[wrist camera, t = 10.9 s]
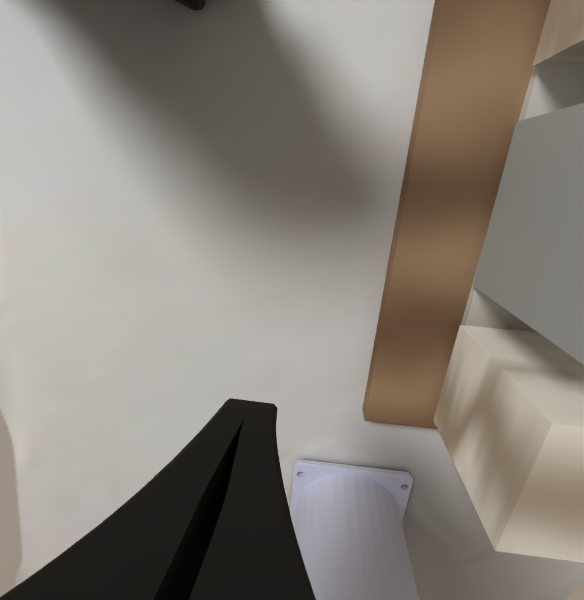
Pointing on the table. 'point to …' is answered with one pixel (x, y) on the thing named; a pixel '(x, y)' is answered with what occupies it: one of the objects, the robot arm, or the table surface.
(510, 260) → the block
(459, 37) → the board
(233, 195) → the table surface
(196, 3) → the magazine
